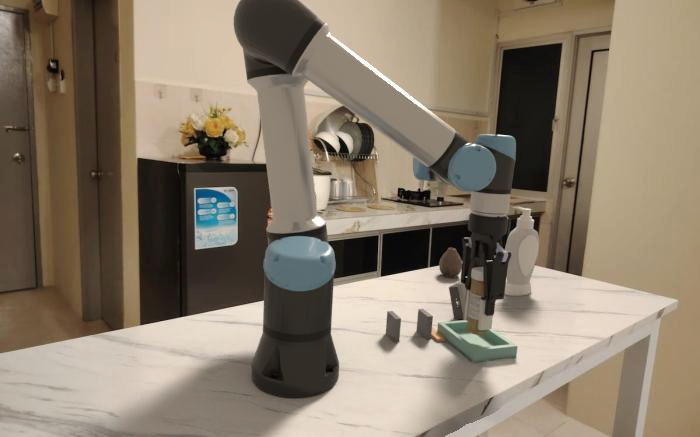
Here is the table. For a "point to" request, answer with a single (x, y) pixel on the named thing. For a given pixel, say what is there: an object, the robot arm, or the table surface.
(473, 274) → the sprinkles bottle
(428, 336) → the grey and orange blocks
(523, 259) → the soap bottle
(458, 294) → the electrical switch
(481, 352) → the parts tray
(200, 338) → the table surface
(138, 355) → the table surface
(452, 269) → the vase
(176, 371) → the table surface
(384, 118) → the robot arm
